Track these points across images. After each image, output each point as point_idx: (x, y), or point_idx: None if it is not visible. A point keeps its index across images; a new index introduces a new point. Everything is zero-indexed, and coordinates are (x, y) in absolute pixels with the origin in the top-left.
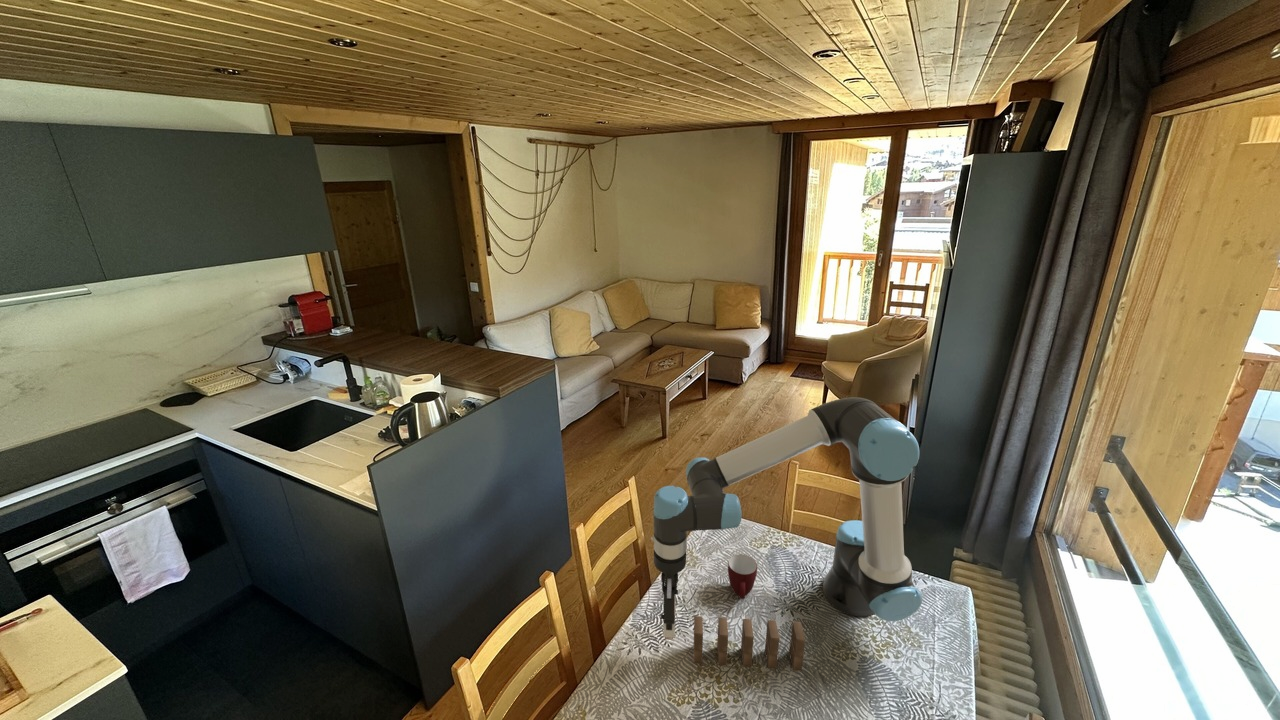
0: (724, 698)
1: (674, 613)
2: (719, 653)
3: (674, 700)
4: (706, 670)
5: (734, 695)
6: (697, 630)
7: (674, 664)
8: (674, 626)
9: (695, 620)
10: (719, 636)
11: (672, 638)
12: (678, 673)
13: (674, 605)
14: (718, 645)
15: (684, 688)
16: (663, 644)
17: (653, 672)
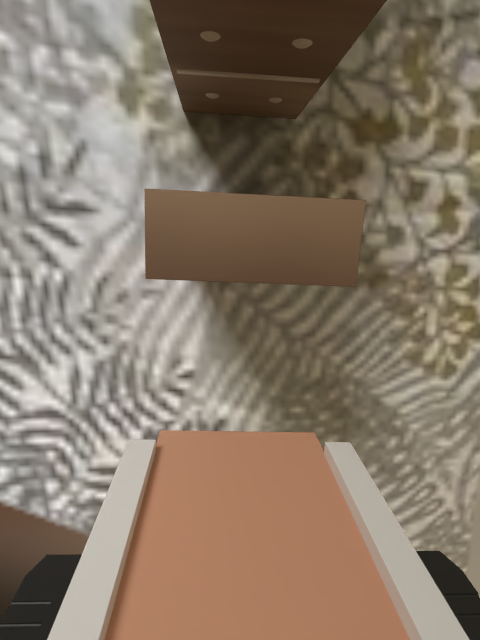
0: (476, 109)
1: (146, 478)
2: (318, 87)
3: (459, 349)
4: (324, 190)
5: (466, 49)
6: (325, 256)
7: (290, 348)
8: (404, 536)
9: (204, 269)
10: (340, 25)
11: (314, 438)
12: (336, 330)
13: (123, 566)
14: (262, 84)
15: (409, 305)
16: (183, 399)
17: (328, 437)
